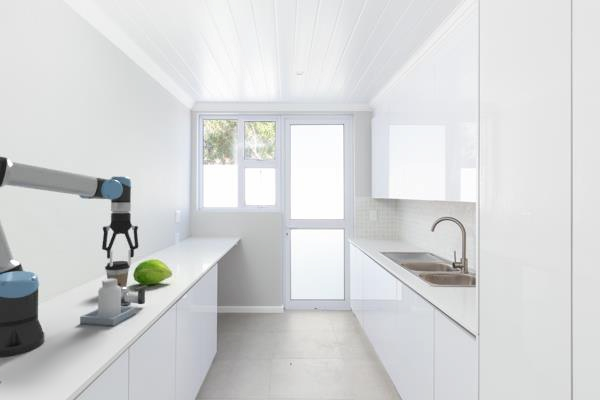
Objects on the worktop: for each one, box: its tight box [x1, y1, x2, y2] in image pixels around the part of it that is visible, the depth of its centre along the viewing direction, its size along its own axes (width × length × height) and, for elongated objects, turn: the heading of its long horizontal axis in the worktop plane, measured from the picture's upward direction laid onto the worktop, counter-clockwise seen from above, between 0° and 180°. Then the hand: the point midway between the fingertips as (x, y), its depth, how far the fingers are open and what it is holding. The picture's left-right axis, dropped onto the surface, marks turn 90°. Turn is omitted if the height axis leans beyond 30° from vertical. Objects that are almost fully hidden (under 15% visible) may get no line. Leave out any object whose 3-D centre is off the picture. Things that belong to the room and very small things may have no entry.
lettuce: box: [132, 258, 173, 286], centre depth 190 cm, size 15×20×14 cm
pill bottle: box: [97, 278, 121, 318], centre depth 137 cm, size 8×8×15 cm
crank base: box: [121, 302, 131, 307], centre depth 159 cm, size 16×7×1 cm, turn 171°
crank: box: [120, 285, 149, 305], centre depth 153 cm, size 15×6×8 cm, turn 71°
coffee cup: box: [104, 260, 131, 287], centre depth 174 cm, size 11×11×15 cm
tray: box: [79, 306, 137, 327], centre depth 137 cm, size 14×14×3 cm
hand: (120, 265), depth 149 cm, fingers open, 6 cm apart
